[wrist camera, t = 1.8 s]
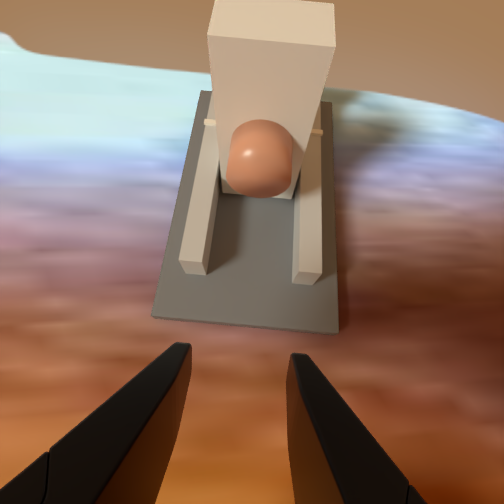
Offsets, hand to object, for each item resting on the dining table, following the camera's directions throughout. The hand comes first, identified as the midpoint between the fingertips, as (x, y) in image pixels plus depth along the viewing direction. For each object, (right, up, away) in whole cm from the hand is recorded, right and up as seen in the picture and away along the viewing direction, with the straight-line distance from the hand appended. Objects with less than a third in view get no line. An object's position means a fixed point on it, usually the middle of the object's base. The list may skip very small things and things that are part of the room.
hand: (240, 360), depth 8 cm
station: (+1, +7, +16) cm, 17 cm away
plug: (+1, +7, +14) cm, 16 cm away
